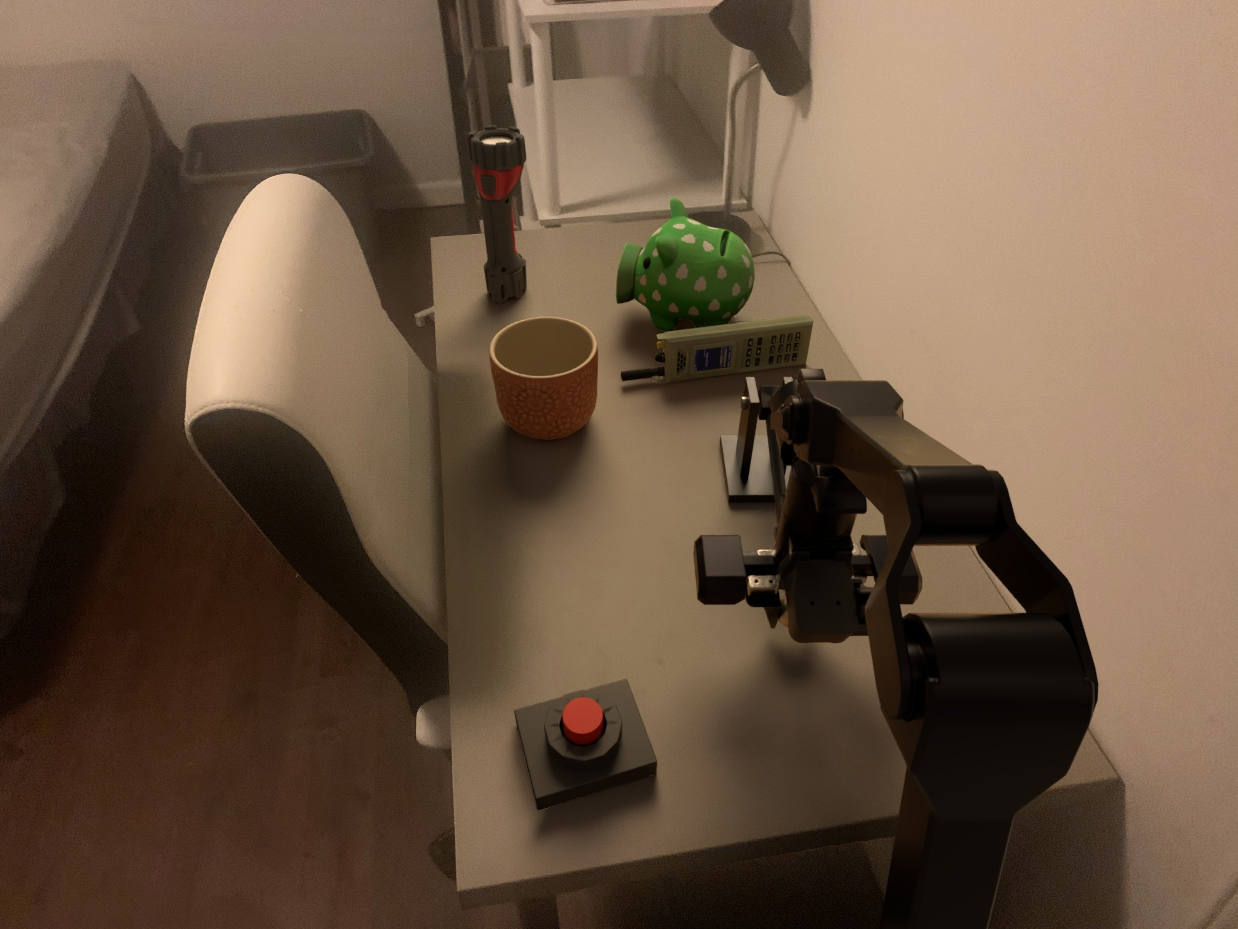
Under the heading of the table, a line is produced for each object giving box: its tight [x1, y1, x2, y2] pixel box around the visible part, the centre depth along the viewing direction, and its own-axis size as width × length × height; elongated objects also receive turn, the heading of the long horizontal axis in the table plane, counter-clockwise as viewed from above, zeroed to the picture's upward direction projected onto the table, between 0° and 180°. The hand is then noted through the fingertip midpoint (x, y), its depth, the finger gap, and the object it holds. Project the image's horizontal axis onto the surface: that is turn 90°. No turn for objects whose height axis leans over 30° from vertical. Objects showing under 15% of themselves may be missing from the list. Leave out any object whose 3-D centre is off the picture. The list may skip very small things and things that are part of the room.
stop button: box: [562, 697, 603, 745], centre depth 64 cm, size 3×3×2 cm
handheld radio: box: [620, 314, 814, 384], centre depth 103 cm, size 7×3×25 cm
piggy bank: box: [615, 197, 756, 333], centre depth 110 cm, size 14×18×15 cm
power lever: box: [757, 385, 788, 629], centre depth 79 cm, size 26×3×3 cm, turn 0°
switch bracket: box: [719, 376, 794, 504], centre depth 88 cm, size 10×8×12 cm
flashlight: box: [467, 124, 528, 304], centre depth 113 cm, size 8×8×23 cm
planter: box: [488, 316, 599, 441], centre depth 95 cm, size 12×12×11 cm
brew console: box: [513, 678, 658, 812], centre depth 66 cm, size 10×8×4 cm
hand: (789, 624), depth 75 cm, fingers closed on power lever, 3 cm apart
